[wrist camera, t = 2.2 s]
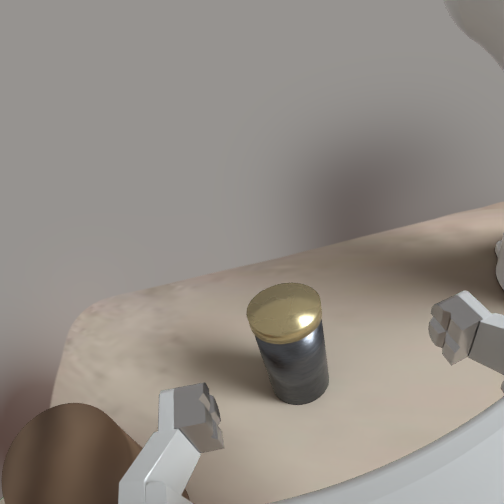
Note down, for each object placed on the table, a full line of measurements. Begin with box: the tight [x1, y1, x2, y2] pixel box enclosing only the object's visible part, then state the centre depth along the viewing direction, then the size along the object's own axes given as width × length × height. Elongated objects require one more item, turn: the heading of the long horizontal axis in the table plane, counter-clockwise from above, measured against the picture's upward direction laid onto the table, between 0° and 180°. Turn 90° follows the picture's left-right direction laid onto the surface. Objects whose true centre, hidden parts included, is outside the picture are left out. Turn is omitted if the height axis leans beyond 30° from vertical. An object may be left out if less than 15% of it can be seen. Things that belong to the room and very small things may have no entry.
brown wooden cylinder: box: [2, 403, 190, 504], centre depth 16 cm, size 12×12×10 cm
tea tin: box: [247, 283, 329, 405], centre depth 27 cm, size 6×6×10 cm
